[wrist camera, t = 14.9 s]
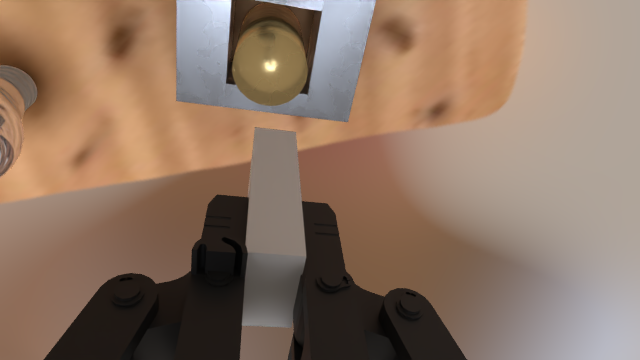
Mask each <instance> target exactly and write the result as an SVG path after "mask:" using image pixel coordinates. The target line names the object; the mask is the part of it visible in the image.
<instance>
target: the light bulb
mask: <svg viewBox="0 0 640 360" xmlns="http://www.w3.org/2000/svg"><path fill="white" fill-rule="evenodd" d="M36 98H37V87H36V84H35V82H34V81H33V79H32V78H31V77H30V76H29V75H28V74H27V73H25V72H24V71H22V70H21V69H19V68H16V67H13V66H8V65H0V178H1V177H2V176H3V175H5V174H6V173H7V172H8V171H9V170H10V169H11V168H12V167H13V165H14V164H15V162H16V161H17V159H18V157H19V156H20V154H21V150H22V146H23V142H24V128H23V123H22V118H23V116H24V113H25V111H26V109H28V108H29V107H30V106H31V105H32V104H33V103H34V102H35V101H36Z"/></svg>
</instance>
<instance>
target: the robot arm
mask: <svg viewBox="0 0 640 360" xmlns="http://www.w3.org/2000/svg"><path fill="white" fill-rule="evenodd" d="M292 321H293V323H294V333H293V338H292V342H291V347H290V351H289V356H288V360H467V359H466V358H465V356H464V354H463V353H462V351H461V350H460V348H459V347H458V345H457V344H456V342H455V341H454V339H453V338H452V336H451V334H450V333H449V331H448V330H447V328H446V327H445V325H444V324H443V322H442V321H441V319H440V317H439V316H438V315H437V313H436V311H435V310H434V308H433V307H432V305H431V304H430V303H429V301H428V300H427V299H426V298H425V297H424V296H422V295H420V294H419V293H417V292H415V291H413V290H410V289H406V288H404V289H403V288H397V289H394V290H391V291H390V292H389V293H388V294H387V295H386V296H385V297H384V296H380V295H377V294H375V293H372V292H369V291H366V290H364V289H362V288H360V287H359V286H357V285H356V284H355V283H354V281H353V279H352V277H351V276H350V275H349V274H348V273H347V272H346V270H345V264H344V259H343V253H342V248H341V242H340V237H339V231H338V227H337V221H336V215H335V213H334V212H333V210H332V209H331V208H330V207H329V205H328V204H326V203H315V202H304V201H302V200H301V187H300V176H299V164H298V152H297V140H296V132H291V131H283V130H274V129H266V128H257V127H255V132H254V141H253V151H252V160H251V169H250V179H249V189H248V197H238V196H227V195H216V196H215V198H213V200H212V201H211V202H210V203H209V204H208V208H207V213H206V218H205V223H204V228H203V233H202V238H201V239H200V240H198V241H197V242H196V243H195V245H194V247H193V249H192V264H191V271H190V272H189V273H187V274H186V275H185V276H183V277H181V278H179V279H176V280H173V281H169V282H164V283H159V284H155V282H154V281H153V280H152V279H151V278H149V277H147V276H145V275H142V274H133V273H129V274H123V275H118V276H116V277H114V278H112V279H110V280H108V281H107V282H106V283H104V284H103V285H102V286H101V287H100V288H99V289H98V291H97V292H96V293H95V295H94V296H93V297H92V298H91V300H90V301H89V302H88V304H87V305H86V306H85V307H84V309H83V310H82V311H81V313H80V314H79V315H78V316H77V318H76V319H75V320H74V322H73V323H72V324H71V325H70V327H69V328H68V329H67V330H66V332H65V333H64V334H63V336H62V337H61V338H60V339H59V341H58V342H57V344H56V345H55V346H54V347H53V348H52V350H51V351H50V352H49V354H48V355H47V356H46V357H45V359H44V360H239V359H240V345H241V344H240V343H241V330H242V325H245V326H268V327H291V326H292Z"/></svg>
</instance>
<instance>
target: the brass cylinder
mask: <svg viewBox="0 0 640 360" xmlns="http://www.w3.org/2000/svg"><path fill="white" fill-rule="evenodd" d="M232 73H233V78H234V81H235V83H236V85H237V87H238V89H239V90H240V91H241V93H242V94H243V95H244V96H246V97H247V98H248V99H250V100H251V101H253V102H255V103H258V104H261V105H266V106H277V105H281V104H285V103H287V102H289V101H291V100H292V99H294V98H295V97H296V96H297V95H298V94H299V93H300V92H301V90H302V89H303V87H304V85H305V83H306V79H307V74H308V67H307V61H306V55H305V49H304V44H303V38H302V32H301V26H300V23H299V21H298V19H297V17H296V16H295V14H294V13H293V12H292V11H291V10H290V9H289V8H287V7H285V6H284V5H281V4H275V3H269V2H267V3H262V4H259V5H257V6H255V7H254V8H252V9H251V10H250V11H249V12H248V13H247V15H246V16H245V18H244V20H243V23H242V27H241V31H240V35H239V39H238V43H237V47H236V51H235V54H234V58H233V63H232Z"/></svg>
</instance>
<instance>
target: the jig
mask: <svg viewBox="0 0 640 360" xmlns="http://www.w3.org/2000/svg"><path fill="white" fill-rule="evenodd" d="M257 1H263V2H269V3H275V4H281V5H287V6H293V7H299V8H305V9H312V10H314V15H313V21H312V28H311V34H310V40H309V46H308V52H307V59H306V61H307V67H308V74H307V79H306V83H305V85H304V87H303V89H302V90H301V92H300V93H299V94H298V95H297V96H296V97H295V98H294V99H292V100H291V101H289V102H287V103H285V104H281V105H277V106H266V105H261V104H258V103H255V102H253V101H251V100H250V99H248V98H247V97H246V96H244V95H243V94H242V93H241V91H240V90H239V89H238V87H237V85H236V83H235V81H234V78H233V73H232V63H233V62H231V57H232V43H233V28H234V14H235V0H177V91H176V101H181V102H189V103H197V104H205V105H213V106H221V107H229V108H237V109H245V110H254V111H262V112H270V113H278V114H286V115H294V116H302V117H310V118H318V119H326V120H334V121H343V122H348V119H349V115H350V110H351V106H352V102H353V97H354V93H355V89H356V84H357V80H358V76H359V71H360V67H361V63H362V58H363V54H364V50H365V45H366V41H367V37H368V32H369V28H370V24H371V19H372V15H373V11H374V6H375V2H376V0H257Z"/></svg>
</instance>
